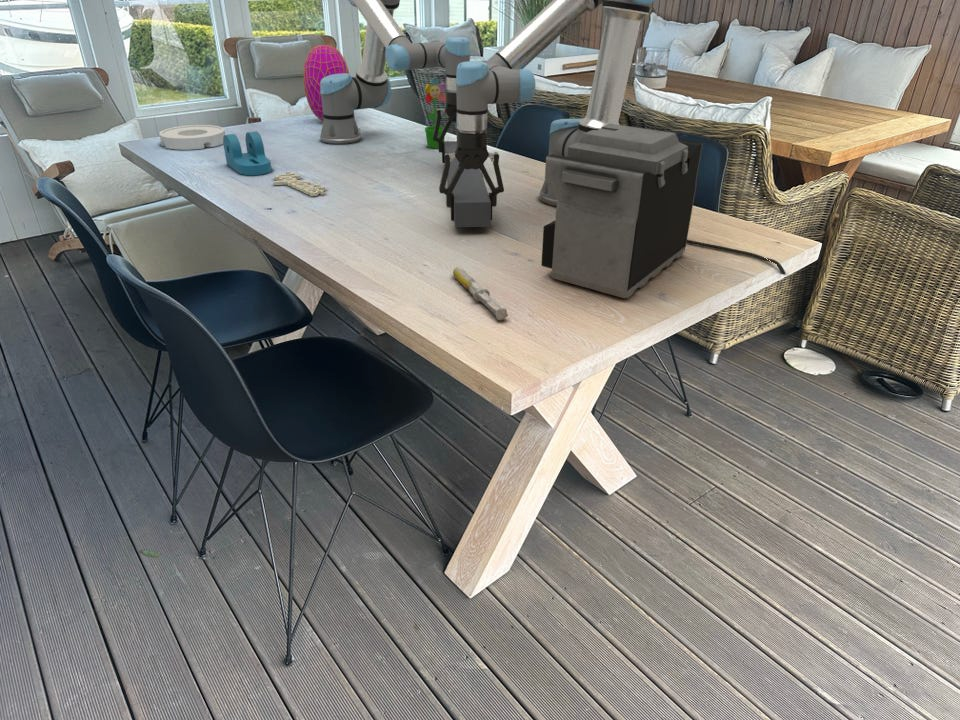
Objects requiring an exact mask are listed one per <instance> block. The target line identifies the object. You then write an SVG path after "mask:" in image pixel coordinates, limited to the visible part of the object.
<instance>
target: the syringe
mask: <svg viewBox="0 0 960 720" xmlns="http://www.w3.org/2000/svg"><path fill="white" fill-rule="evenodd" d="M452 274H453V277H454V279H455V280H457V281H458V282H459V283H460V285H462V287H464V289H466V290H467V291H468V293H470V295H471V296H472V298H473V300H474V302H477V303H478V302H480V303H482V304H483V305H484V306H485V307H486V308H487V309H488V310H489V311H490V312H491V313H492V314H493V315H494V316H495V317H496V320H497V321H503V320H504V319H506V318H507V317H509V314H508V310H507V308H506V307H502V306H501V305H500V303H498V302H497V301H496V300H494V299H493V298H492V297H491V296H490V295H491V293H490V290H488V289H486V288H483V287H482V286H481V285H480V284H479V283H478V282H477V281H476V280H474V278H473V277H471V275H469V274H468V273H467V272H466V270H465V269H464V268H463V267H462V266H456V267H454V268H453V271H452Z"/></svg>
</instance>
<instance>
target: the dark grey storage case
mask: <svg viewBox="0 0 960 720" xmlns="http://www.w3.org/2000/svg"><path fill="white" fill-rule="evenodd" d="M703 145H704V143H703V142H697V141H691V140H684V139H679V138H678V135H677V133H676V132H670V131H663V130H656V129H650V128H642V127H636V126H628V125H623V124H620V125H616V124H608V125H605V126H602V127H601V129H599V130H591V131H589V132H586V133H584V134H583V135H582V137H581V138H580V140H579V141H578V142H577V143H575V144H573V145H570V146H568V152H567V157H565V156H559V155H553V154H552V155H550V156H549V155H546V157H545V171H544V181H545V180H546V182H547V183H548V185H549V187H550V188H551V190H552V192H553V193H554V195H555V197H556V199H557V200H558V203H557V206H555V207H556V208H555V219H554V220H553V221H551V222H549V223H547V224H545V225H544V226H543V229H542V230H543V231H542V232H543V233H542V247H541V249H542V250H541V262H540V263H541V264H540V265H541V266H542V267H543V268H544V267H545V268H548V269H551V275H550V276H551V278H553V279H554V280H557V281H561V282H564V283H568V284H572V285H576V286H579V287H582V288H586V289H589V290H593V291H595V292H601V293H603V294H607V295H611V296H614V297H618V298H621V299H629V298H630V297H631V296H633V295H634V293H635V291H636V290H637V289H638V288H639V289H641V288H642V287H644V286H645V285H646V284H647V283H648V281H649V280H650V279H654V278H656V277H657V276H658V275H659V274H660V273H661V271H662V270H663V269H666V268H668V267H670V265H671V264H672V263H673V261H674V260H678V259H679V258H680V257H682V255H683V254H684V252H685V250H686V247H687V244H688V243H687V240H688V236H689V231H690V225H691V219H692V213H693V209H694V208H693V206H694V200H695V197H696V189H697V179H698V174H699V169H700V162H701V156H702V151H703Z"/></svg>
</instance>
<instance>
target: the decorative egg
mask: <svg viewBox="0 0 960 720" xmlns="http://www.w3.org/2000/svg"><path fill="white" fill-rule="evenodd" d="M341 73H347V74H350V71H349V68H348V64H347V61H346V59H345V58H344V55H342V53H341V51H340V50H338V48H336V47H335V46H333V45H330V44H318V45H315V46H313V47H311V49H309V51H308V54H307V56H306V58H305V61H304V65H303V90H304V94H305V98H306V101H307V104H308V106H309V108H310V110H311V112H312V113H313V114H314V116H315V117H316V118H317V119H318V120H319V121H321V122H323V121H324V118H323V108H322V99H321V93H320V82H321V80H322V79H323V78H324V77H326V76H329V75H333V74H341Z"/></svg>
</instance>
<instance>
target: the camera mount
mask: <svg viewBox="0 0 960 720" xmlns="http://www.w3.org/2000/svg"><path fill="white" fill-rule="evenodd" d="M222 145H223V149H224V150H223V151H224V156H225V161H226V165H227V166H228V167H230V168H231V169H232V170H234V171H236V172H237V173H238V174H239V175H244V176H260V175H265V174H268V173H271V172H272V164H271V159H270V158H268V157H267V156H266V153H265V145H264V141H263V139H262V136H261V134H260V132H258V131H247V132H246V133H245V146H246V152H243V151H242V150H243V149H242V146H241V142H240V140H239V138H238V135H236V134H235V133H231V134H225V135H224V137H223V144H222Z"/></svg>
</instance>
